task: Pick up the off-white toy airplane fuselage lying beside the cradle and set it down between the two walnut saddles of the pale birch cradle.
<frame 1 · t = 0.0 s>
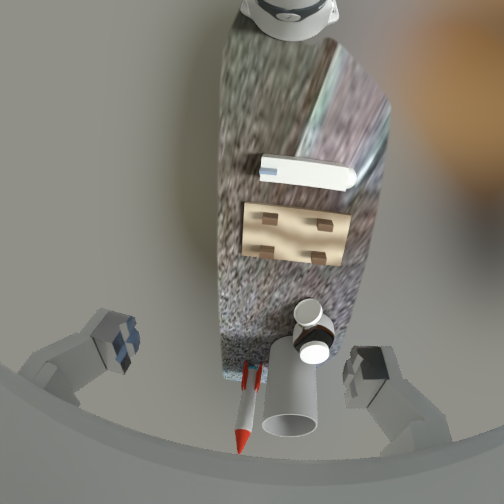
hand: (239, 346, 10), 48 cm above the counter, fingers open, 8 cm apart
cylinder vase: (292, 349, 75), on the counter
fuselage: (303, 169, 53), on the counter
toy rocket: (253, 366, 81), on the counter
cradle: (295, 233, 59), on the counter
spread jar: (309, 315, 69), on the counter
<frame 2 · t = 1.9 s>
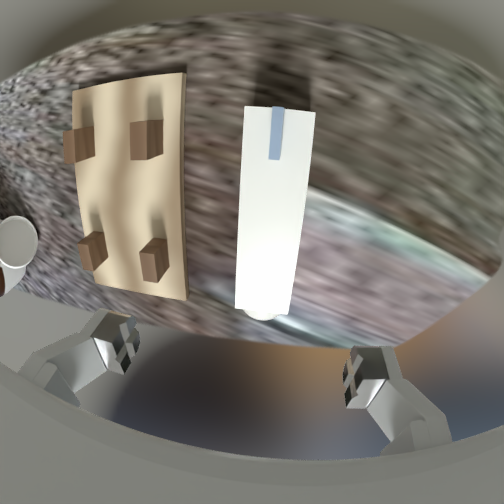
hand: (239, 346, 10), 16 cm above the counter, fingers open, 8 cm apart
fuselage: (273, 203, 24), on the counter
cradle: (128, 193, 25), on the counter
spread jar: (20, 237, 30), on the counter
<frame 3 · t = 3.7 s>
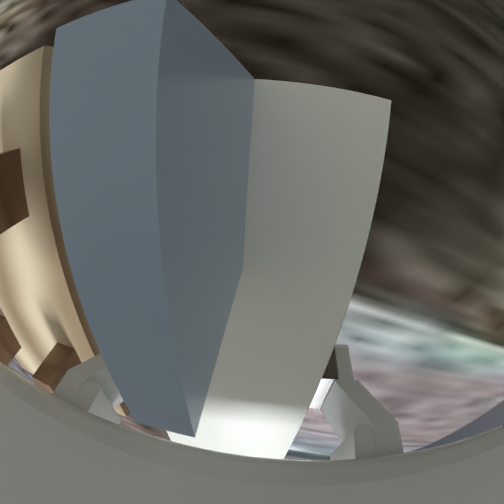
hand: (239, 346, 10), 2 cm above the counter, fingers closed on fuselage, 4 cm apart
fuselage: (245, 316, 11), on the counter, touching gripper
cradle: (16, 269, 12), on the counter
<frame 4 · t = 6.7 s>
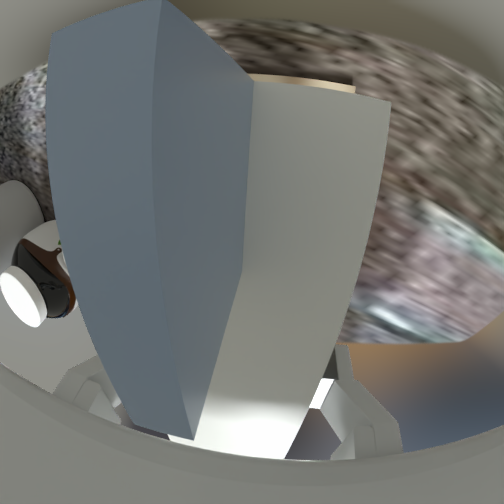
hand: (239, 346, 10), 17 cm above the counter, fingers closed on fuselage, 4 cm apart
cylinder vase: (23, 218, 30), on the counter
fuselage: (245, 317, 11), point 16 cm above the counter, touching gripper
cradle: (271, 199, 25), on the counter
spread jar: (86, 242, 30), on the counter
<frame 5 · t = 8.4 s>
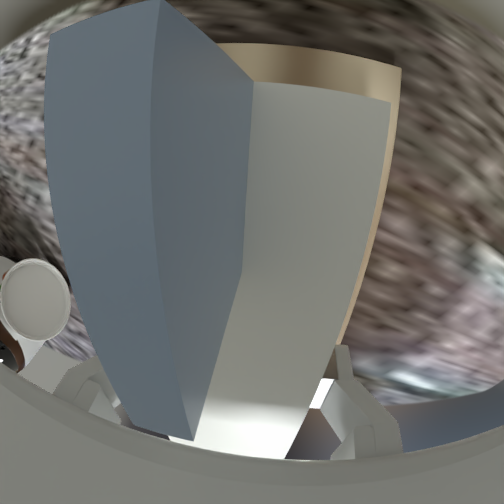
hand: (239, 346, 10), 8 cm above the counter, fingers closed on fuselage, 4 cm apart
fuselage: (245, 318, 11), point 6 cm above the counter, touching gripper
cradle: (263, 245, 16), on the counter
spread jar: (37, 282, 22), on the counter
when the fingers open (4 cm above the counter, at t = 9.6 s): fuselage stays where it is, resting on cradle.
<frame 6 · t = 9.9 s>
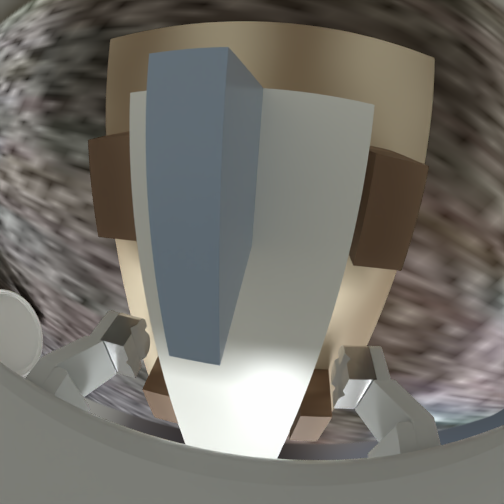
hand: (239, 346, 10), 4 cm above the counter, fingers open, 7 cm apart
fuselage: (249, 302, 12), point 1 cm above the counter, touching cradle
cradle: (250, 289, 13), on the counter
spread jar: (11, 309, 18), on the counter
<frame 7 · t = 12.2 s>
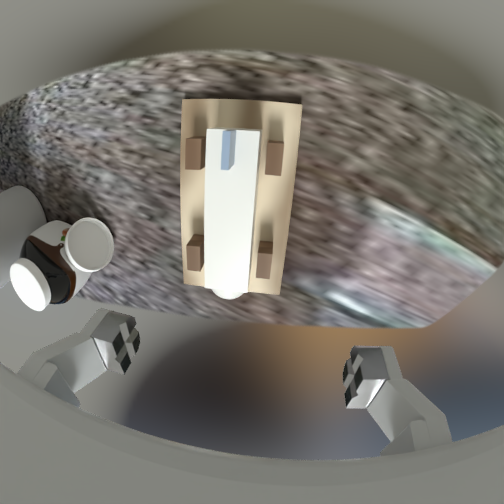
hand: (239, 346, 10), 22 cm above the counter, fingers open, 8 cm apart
cylinder vase: (27, 220, 34), on the counter
fuselage: (235, 203, 29), point 1 cm above the counter, touching cradle
cradle: (235, 200, 30), on the counter
spread jar: (83, 239, 35), on the counter
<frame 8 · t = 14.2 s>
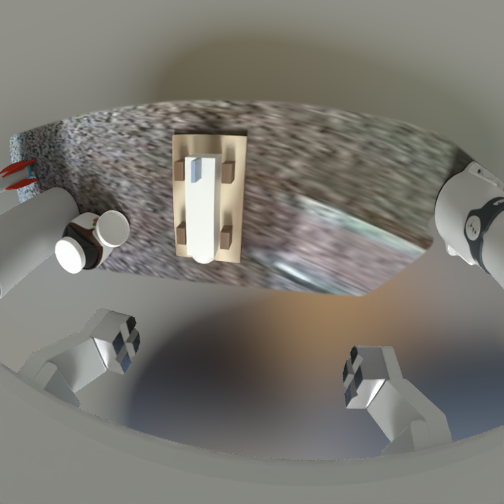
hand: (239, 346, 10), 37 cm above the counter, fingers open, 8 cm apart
cylinder vase: (62, 212, 51), on the counter
fuselage: (207, 201, 45), point 1 cm above the counter, touching cradle
toy rocket: (31, 169, 47), on the counter
cradle: (208, 199, 46), on the counter
spread jar: (107, 226, 52), on the counter
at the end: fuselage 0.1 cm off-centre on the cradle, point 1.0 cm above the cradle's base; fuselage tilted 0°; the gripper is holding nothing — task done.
